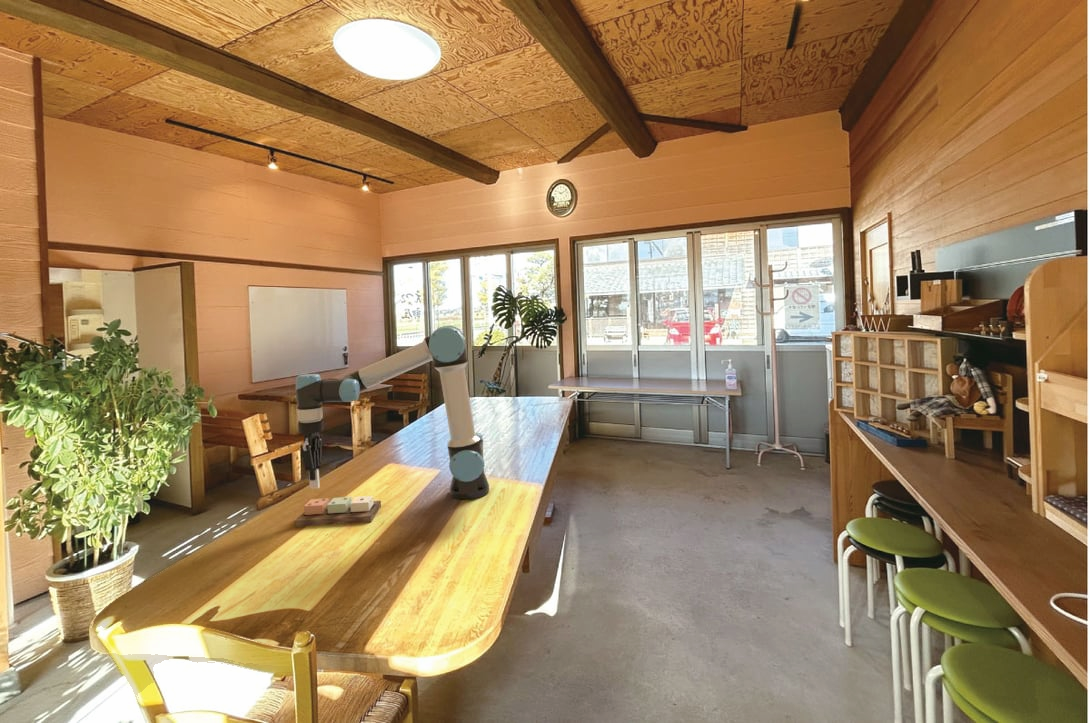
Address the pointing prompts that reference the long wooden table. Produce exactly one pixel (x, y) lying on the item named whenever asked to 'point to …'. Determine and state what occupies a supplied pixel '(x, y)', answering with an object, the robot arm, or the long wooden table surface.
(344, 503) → the button two sage
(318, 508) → the button three terracotta
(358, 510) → the button one cream
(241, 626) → the long wooden table surface
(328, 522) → the brown wooden tray
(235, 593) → the long wooden table surface
